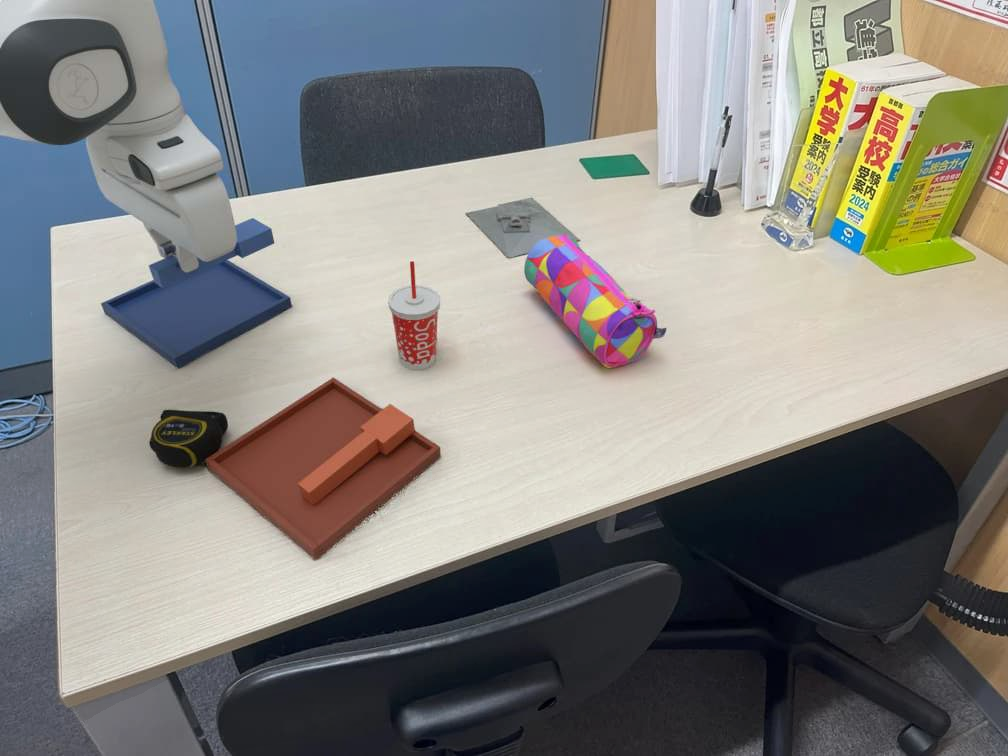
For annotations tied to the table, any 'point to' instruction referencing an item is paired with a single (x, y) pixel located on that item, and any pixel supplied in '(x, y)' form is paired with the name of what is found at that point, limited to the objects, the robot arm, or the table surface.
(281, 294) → the blue tray
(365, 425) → the rust stepped bar
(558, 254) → the pencil case
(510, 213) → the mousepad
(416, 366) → the beverage cup
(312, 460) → the rust tray
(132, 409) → the table surface
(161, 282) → the blue stepped bar
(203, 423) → the tape measure
